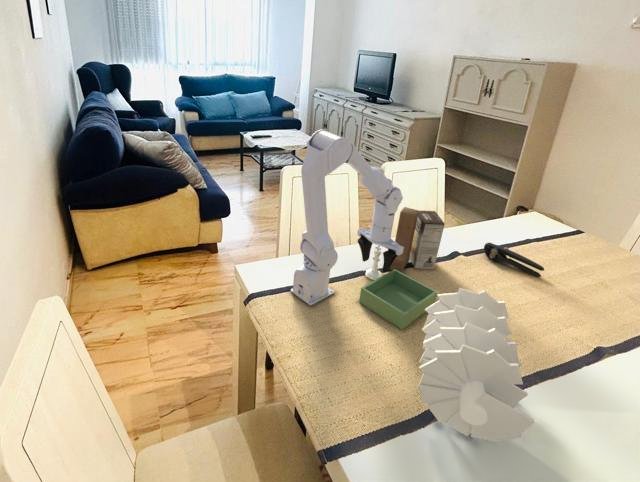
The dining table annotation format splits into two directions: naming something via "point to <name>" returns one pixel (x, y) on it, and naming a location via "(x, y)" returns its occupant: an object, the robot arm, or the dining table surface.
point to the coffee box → (426, 240)
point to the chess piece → (374, 266)
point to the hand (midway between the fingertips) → (375, 265)
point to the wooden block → (405, 237)
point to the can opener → (500, 254)
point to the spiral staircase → (472, 367)
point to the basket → (397, 298)
